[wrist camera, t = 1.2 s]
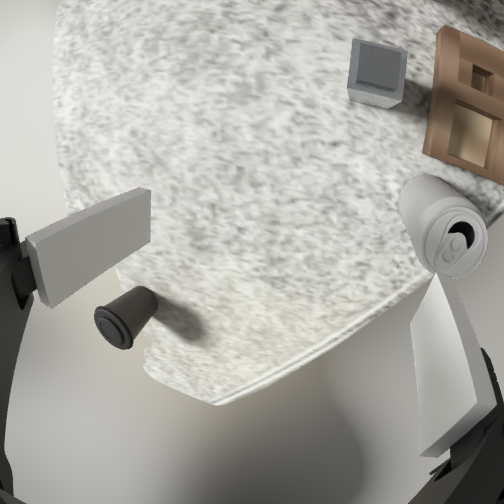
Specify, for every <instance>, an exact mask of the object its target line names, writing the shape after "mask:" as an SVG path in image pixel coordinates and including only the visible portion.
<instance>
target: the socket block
mask: <svg viewBox="0 0 504 504" xmlns="http://www.w3.org/2000/svg"><path fill="white" fill-rule="evenodd" d="M422 153H423V154H425V155H428V156H430V157H433V158H436V159H439V160H442V161H444V162H447V163H450V164H453V165H455V166H458V167H461V168H463V169H466V170H468V171H471V172H473V173H476V174H478V175H481V176H483V177H485V178H488V179H490V180H492V181H494V182H497V183H499V184H501V185H503V184H504V52H503V51H502V50H500V49H498V48H496V47H494V46H492V45H490V44H488V43H486V42H484V41H482V40H480V39H478V38H475V37H473V36H471V35H469V34H466V33H464V32H462V31H459V30H457V29H454V28H452V27H449V26H446V25H444V26H443V27H442V28H441V29H440V30H439V31H438V33H437V34H436V54H435V68H434V78H433V88H432V96H431V104H430V111H429V117H428V123H427V129H426V135H425V140H424V146H423V151H422Z"/></svg>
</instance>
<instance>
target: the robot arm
mask: <svg viewBox="0 0 504 504" xmlns="http://www.w3.org/2000/svg"><path fill="white" fill-rule="evenodd" d="M150 214H151V190H148V189H144V188H140V187H139V188H136V189H133V190H131V191H128V192H125V193H123V194H120V195H118V196H115V197H113V198H110V199H108V200H105V201H103V202H101V203H98V204H96V205H93V206H91V207H89V208H86V209H84V210H82V211H80V212H77V213H75V214H73V215H71V216H68V217H66V218H64V219H62V220H60V221H58V222H55V223H53V224H51V225H49V226H47V227H45V228H43V229H41V230H39V231H37V232H35V233H33V234H31V235H29V236H27V237H25V241H23V242H21V243H20V241H19V236H18V231H17V226H16V220H15V219H14V218H10V217H6V218H1V219H0V504H26V503H24V502H22V501H20V500H18V499H17V498H15V497H14V495H13V476H12V470H11V467H10V464H9V462H8V460H7V458H6V455H5V451H4V441H5V429H6V419H7V411H8V404H9V397H10V391H11V385H12V380H13V375H14V370H15V365H16V361H17V357H18V352H19V348H20V344H21V341H22V337H23V333H24V330H25V326H26V323H27V319H28V316H29V313H30V310H31V307H32V304H33V301H34V296H33V293H32V292H33V291H34V290H36V289H37V290H38V293H39V297H40V300H41V302H42V303H44V304H45V305H46V306H47V307H49V308H50V309H53V308H54V307H55V306H57V305H58V304H60V303H61V302H62V301H64V300H65V299H66V298H68V297H69V296H70V295H72V294H73V293H75V292H76V291H78V290H79V289H80V288H82V287H83V286H85V285H86V284H88V283H89V282H90V281H92V280H93V279H95V278H96V277H98V276H99V275H100V274H102V273H104V272H105V271H106V270H108V269H109V268H111V267H112V266H114V265H115V264H117V263H118V262H120V261H121V260H123V259H124V258H126V257H127V256H129V255H131V254H132V253H134V252H135V251H137V250H138V249H140V248H141V247H143V246H144V245H146V244H148V243H149V242H150ZM410 330H411V336H412V344H413V352H414V361H415V371H416V381H417V382H416V383H417V398H418V420H419V421H418V424H419V450H418V455H419V456H425V457H439V456H440V455H442V454H443V453H444V452H445V451H447V450H448V449H449V448H450V455H451V457H450V458H449V459H448V460H446V461H445V462H444V463H442V464H441V465H440V466H438V467H437V468H435V469H434V470H433V471H431V472H430V473H429V474H430V475H432V474H433V473H435V472H436V473H435V474H434V475H433V477H432V478H431V479H430V480H429V481H428V482H427V484H426V485H425V486H424V487H423V488H422V489H421V490H420V491H419V493H418V494H417V495H416V496H415V497H414V498H413V499H412V500H411V501H410V502H409V503H408V504H504V402H503V398H502V395H501V391H500V388H499V384H498V382H497V378H496V374H495V372H494V368H493V365H492V363H491V359H490V358H489V356H488V355H487V353H486V352H485V350H484V349H483V348H480V346H479V343H478V340H477V338H476V335H475V332H474V330H473V327H472V325H471V322H470V320H469V317H468V315H467V312H466V310H465V308H464V305H463V303H462V301H461V298H460V296H459V294H458V292H457V290H456V288H455V285H454V283H453V281H452V279H451V277H448V276H446V275H443V274H440V273H437V272H436V273H435V276H434V278H433V280H432V282H431V284H430V286H429V288H428V291H427V293H426V294H425V297H424V298H423V301H422V302H421V304H420V306H419V308H418V310H417V312H416V314H415V316H414V318H413V319H412V321H411V323H410Z"/></svg>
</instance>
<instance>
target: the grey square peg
mask: <svg viewBox="0 0 504 504" xmlns="http://www.w3.org/2000/svg"><path fill="white" fill-rule="evenodd" d="M407 53H408V51H405V50H401V49H397V48H394V47H390V46H386V45H382V44H377V43H373V42H368V41H364V40H359V39H353V41H352V50H351V59H350V68H349V76H348V84H347V90H348V95H349V100H351V101H355V102H360V103H364V104H368V105H372V106H376V107H380V108H384V109H389V108H391V107H393V106H394V105H396V104H398V103H400V102H402V98H403V91H404V83H405V74H406V64H407Z"/></svg>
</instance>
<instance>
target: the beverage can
mask: <svg viewBox="0 0 504 504" xmlns="http://www.w3.org/2000/svg"><path fill="white" fill-rule="evenodd" d="M398 207H399V212H400V215H401V218H402V220H403V222H404V225H405V227H406V230H407V232H408V235H409V237H410V240H411V242H412V245H413V247H414V250H415V253H416V255H417V258H418V260H419V261H420V263H421V264H422V265H423V266H424V267H425V268H426V269H427V270H428V271H430V272H431V273H433V274H434V275H435V273H436V272H437V273H440V274H443V275H446V276H448V277H451V279H452V280H455V279H459V278H462V277H465V276H467V275H469V274H470V273H471V272H473V271H474V270H475V269H476V268H477V267H478V266H479V265H480V263H481V262H482V260H483V258H484V256H485V253H486V250H487V246H488V233H487V229H486V225H485V222H484V219H483V216H482V214H481V212H480V211H479V209H478V208H477V207H476V206H475V205H474V204H473V203H471V202H470V201H469V200H468V199H466V198H465V197H464V196H463V195H461V194H460V193H459V192H457V191H456V190H455V189H453V188H452V187H451V186H449V185H448V184H447V183H445V182H444V181H443V180H441V179H440V178H438V177H436V176H433V175H429V174H423V175H418V176H415V177H413V178H412V179H410V180H409V181H408V182H407V183H406V184H405V185H404V187H403V188H402V190H401V192H400V195H399V201H398Z"/></svg>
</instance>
